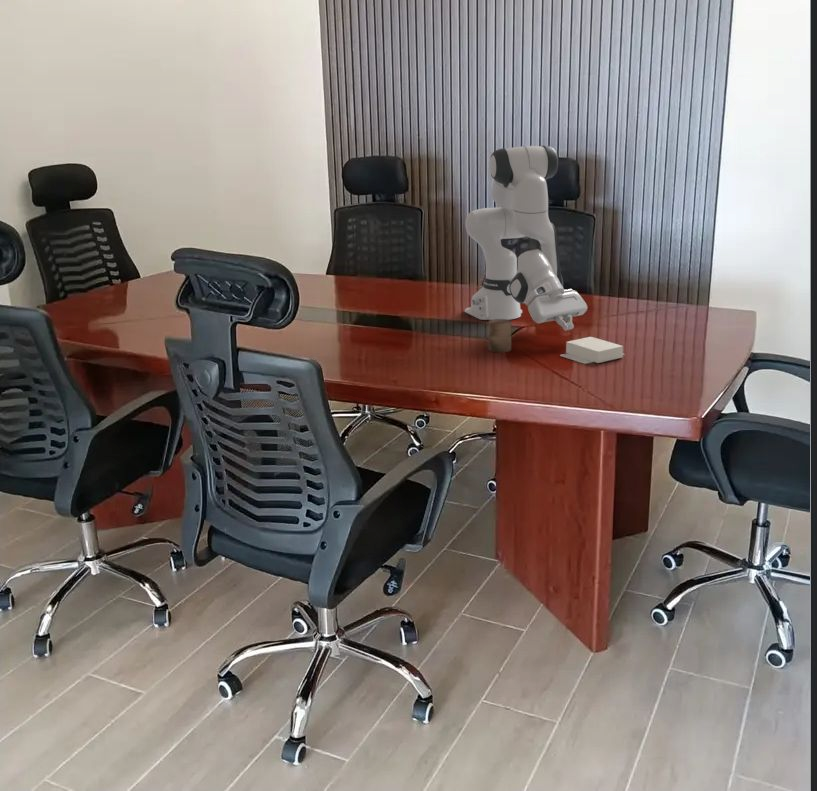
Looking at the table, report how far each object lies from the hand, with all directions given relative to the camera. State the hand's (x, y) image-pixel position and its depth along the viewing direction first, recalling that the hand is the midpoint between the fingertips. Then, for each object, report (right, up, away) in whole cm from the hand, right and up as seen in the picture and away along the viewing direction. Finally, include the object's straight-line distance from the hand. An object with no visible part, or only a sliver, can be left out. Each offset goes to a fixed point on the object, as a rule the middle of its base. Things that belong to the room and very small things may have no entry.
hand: (569, 328), depth 274 cm
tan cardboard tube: (-21, -6, +3) cm, 23 cm away
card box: (+2, -5, -2) cm, 6 cm away
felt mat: (+6, -9, -6) cm, 12 cm away
